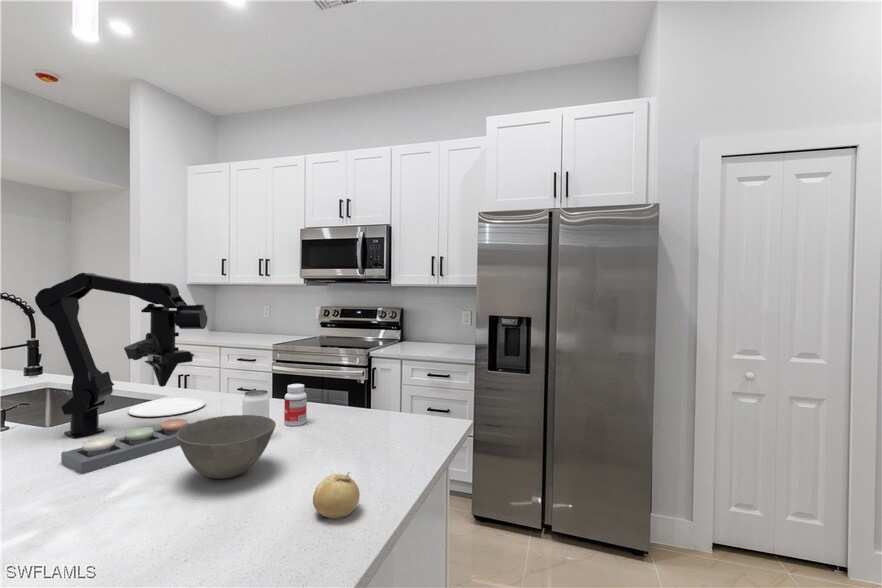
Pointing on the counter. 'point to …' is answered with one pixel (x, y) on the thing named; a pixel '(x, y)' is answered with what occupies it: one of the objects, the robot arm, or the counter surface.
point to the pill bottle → (295, 405)
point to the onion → (336, 496)
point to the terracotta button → (173, 426)
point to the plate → (166, 407)
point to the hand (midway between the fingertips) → (162, 386)
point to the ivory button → (98, 445)
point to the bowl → (225, 443)
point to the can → (256, 403)
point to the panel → (117, 452)
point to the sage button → (138, 435)
